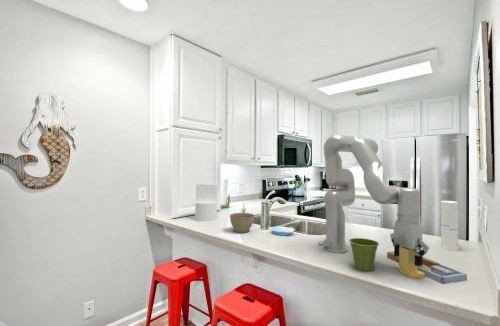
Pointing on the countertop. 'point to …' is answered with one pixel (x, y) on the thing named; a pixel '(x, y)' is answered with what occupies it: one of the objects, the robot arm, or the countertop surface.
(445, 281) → the tray
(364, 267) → the plant pot
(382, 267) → the countertop surface
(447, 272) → the chip
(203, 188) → the cylinder
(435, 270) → the pale grey block
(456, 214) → the cylindrical container
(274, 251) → the countertop surface
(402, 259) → the l-shaped block
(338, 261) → the countertop surface
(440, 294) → the countertop surface
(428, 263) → the slot board
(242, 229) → the planter bowl
